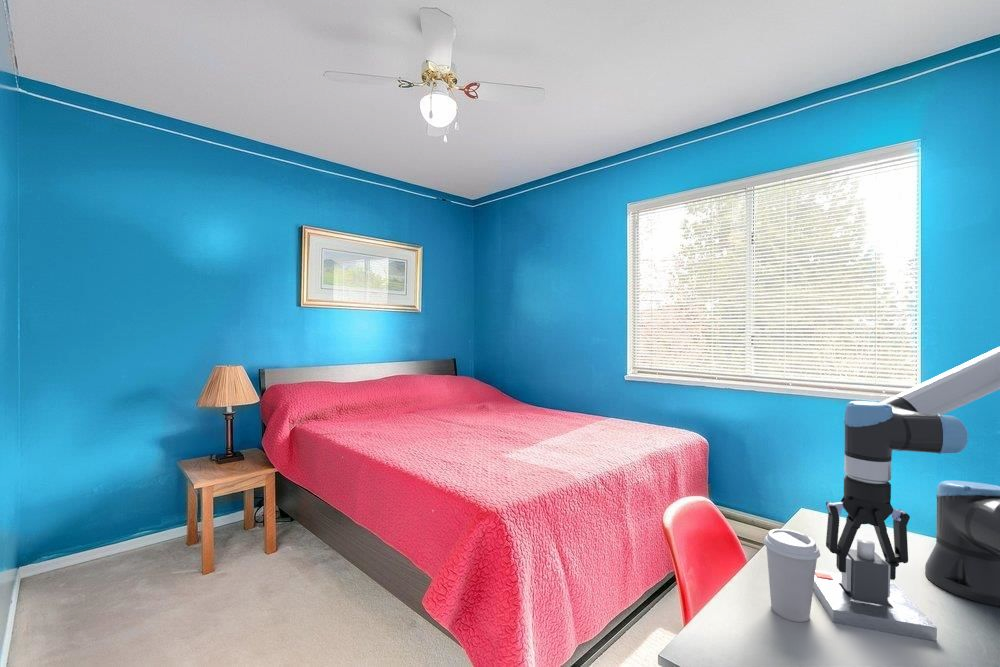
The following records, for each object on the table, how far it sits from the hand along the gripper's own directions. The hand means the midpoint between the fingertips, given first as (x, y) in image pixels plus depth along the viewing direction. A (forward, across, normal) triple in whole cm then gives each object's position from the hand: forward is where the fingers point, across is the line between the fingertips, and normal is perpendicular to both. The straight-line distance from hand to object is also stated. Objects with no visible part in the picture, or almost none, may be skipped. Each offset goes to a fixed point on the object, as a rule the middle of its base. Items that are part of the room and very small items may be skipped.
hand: (864, 590), depth 93 cm
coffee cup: (+4, +15, +7) cm, 17 cm away
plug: (+1, 0, 0) cm, 1 cm away
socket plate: (+3, 0, 0) cm, 3 cm away
